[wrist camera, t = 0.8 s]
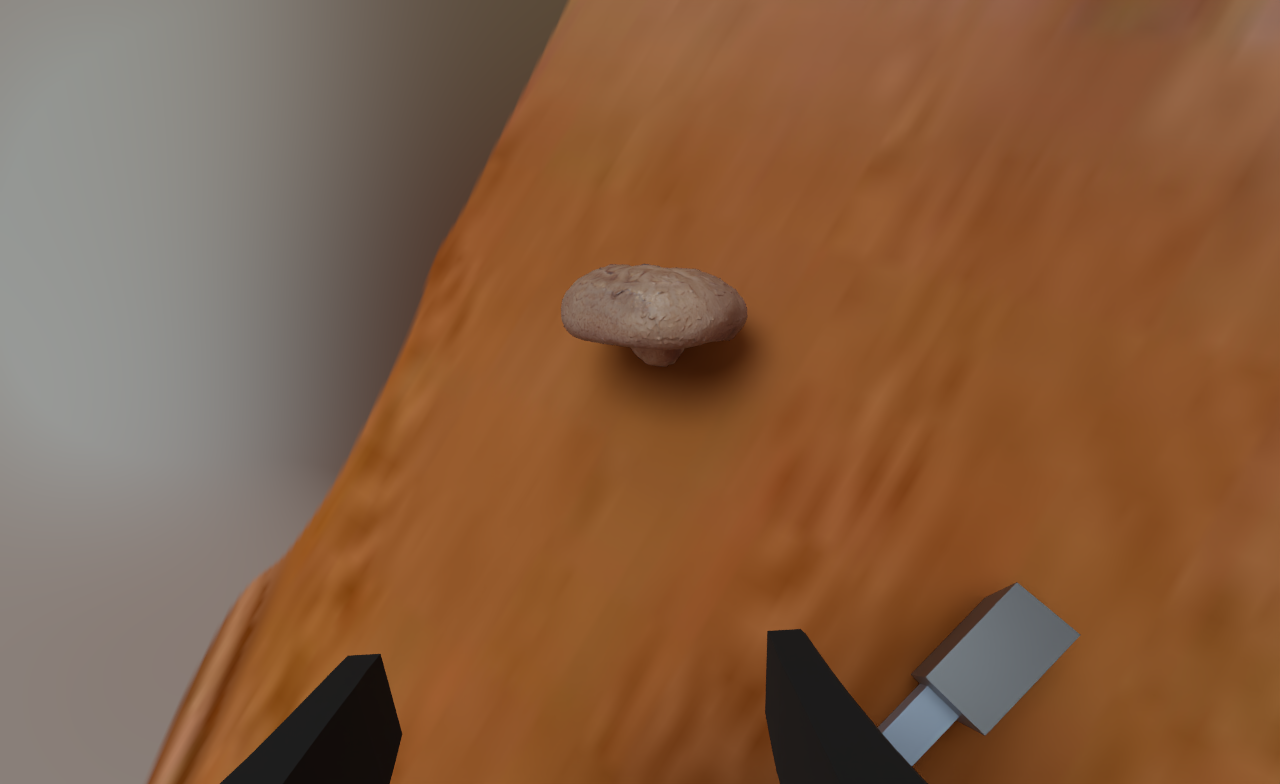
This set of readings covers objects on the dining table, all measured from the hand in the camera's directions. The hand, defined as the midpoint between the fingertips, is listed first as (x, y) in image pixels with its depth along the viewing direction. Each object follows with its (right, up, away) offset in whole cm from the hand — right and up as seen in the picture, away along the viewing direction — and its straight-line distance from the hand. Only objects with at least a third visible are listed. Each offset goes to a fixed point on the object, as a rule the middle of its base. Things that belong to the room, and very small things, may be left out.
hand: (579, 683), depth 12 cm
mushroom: (+3, +7, +20) cm, 21 cm away
